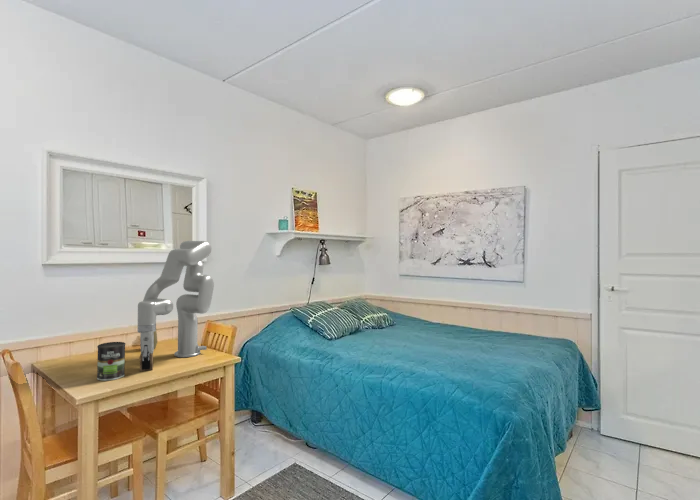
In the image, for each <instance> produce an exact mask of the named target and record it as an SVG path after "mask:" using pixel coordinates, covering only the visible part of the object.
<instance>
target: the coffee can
mask: <svg viewBox="0 0 700 500" xmlns="http://www.w3.org/2000/svg"><path fill="white" fill-rule="evenodd" d="M125 359H126V342H124V341H110V342H103V343H100V344H98V345H97V368H96V369H97V371H96V377H97V378H96V380H98V381H101V382H105V381H106V382H108V381H110V382H111V381H115V380H118V379H122V378H124V377H125V367H126V365H125V364H126V361H125Z"/></svg>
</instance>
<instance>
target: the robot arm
mask: <svg viewBox="0 0 700 500" xmlns="http://www.w3.org/2000/svg"><path fill="white" fill-rule="evenodd" d="M211 252H212V245H211V243H209V241H206V240H185V241H183V242H181V243H180V245H179V248H174V249H172V250H170V251H169V253H168V255H167V258H166V261H165V263H164V266H163V268H162V272H161V274H160V276H159V277H158V278H157V279H156V280H155V281H154V282H152V284H151V285H150V286H149V287H148V289H147V290H146V292H145V294H144V297H143V300H142V301H139V302H138V304H137V333H139V334H140V336H139V337H140V339H139V340H140V343H139V344H140V345H139V346H140V354H143V361H142V370H146V369H150V360H149V357H150V353H151V354H152V353H153V354H154V350H155V349H154V331H156V332H157V316H165V315H168V314H171V312H173V310H174V303H173V302H172V300H170V299H167V298H158V297H159V296H160V294H161V292H163V291H164V290H165V289H166V288H168V287H171V286H173V285H175V284H177V283H179V280H180V278H181V275H182V272H183V269H184V267H186V268H185V274H184V279H183V283H182V285H183V286H182V287H183V290H185V291H186V292H189V293H190V294H189V293H188V294H187V293H185V294H182V295H180V296H179V297H177V299H176V305H175V306H176V310H177V311H176V312H177V351H175V352H174V357H177V358H191V357H195V356H199V355H200V354H201V351H207V345H199V344H198V329H199V328H198V323H199V322H198V321H199V320H198V317H197V314H200V315H201V314H205V313H208V311H209V310H210V309H211V304H212V298H213V293H214V287H215V282H214V278H213V277H212V276H211V275H209V274H204V267H205V266H204V262H203V260H205V259H206V258H207V257H208V256H210V255H211ZM191 293H192V294H191ZM193 293H198V294H193ZM148 352H149V353H148ZM147 353H148V354H147ZM147 355H148V356H147Z"/></svg>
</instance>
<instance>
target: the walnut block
mask: <svg viewBox="0 0 700 500" xmlns="http://www.w3.org/2000/svg"><path fill="white" fill-rule="evenodd" d="M148 353H149V352H148ZM148 353H147V354H148ZM147 356H148V355H147ZM149 360H150V369H146V370H142V361H143V354H141V353H140V354H139V372H148V371H153V368H154V352H153V353H152V354H151V353H150V357H149Z"/></svg>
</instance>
